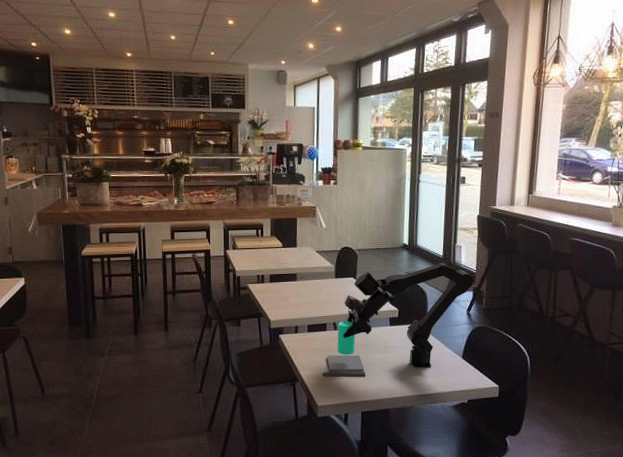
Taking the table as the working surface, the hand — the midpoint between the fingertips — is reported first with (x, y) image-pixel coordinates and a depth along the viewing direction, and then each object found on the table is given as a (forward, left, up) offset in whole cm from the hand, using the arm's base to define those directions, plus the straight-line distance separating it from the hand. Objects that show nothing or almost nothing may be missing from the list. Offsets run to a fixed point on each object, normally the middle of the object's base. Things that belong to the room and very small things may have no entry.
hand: (342, 334), depth 197 cm
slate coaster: (-1, 0, -12) cm, 12 cm away
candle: (-1, 0, -7) cm, 7 cm away
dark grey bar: (0, +9, -12) cm, 15 cm away
